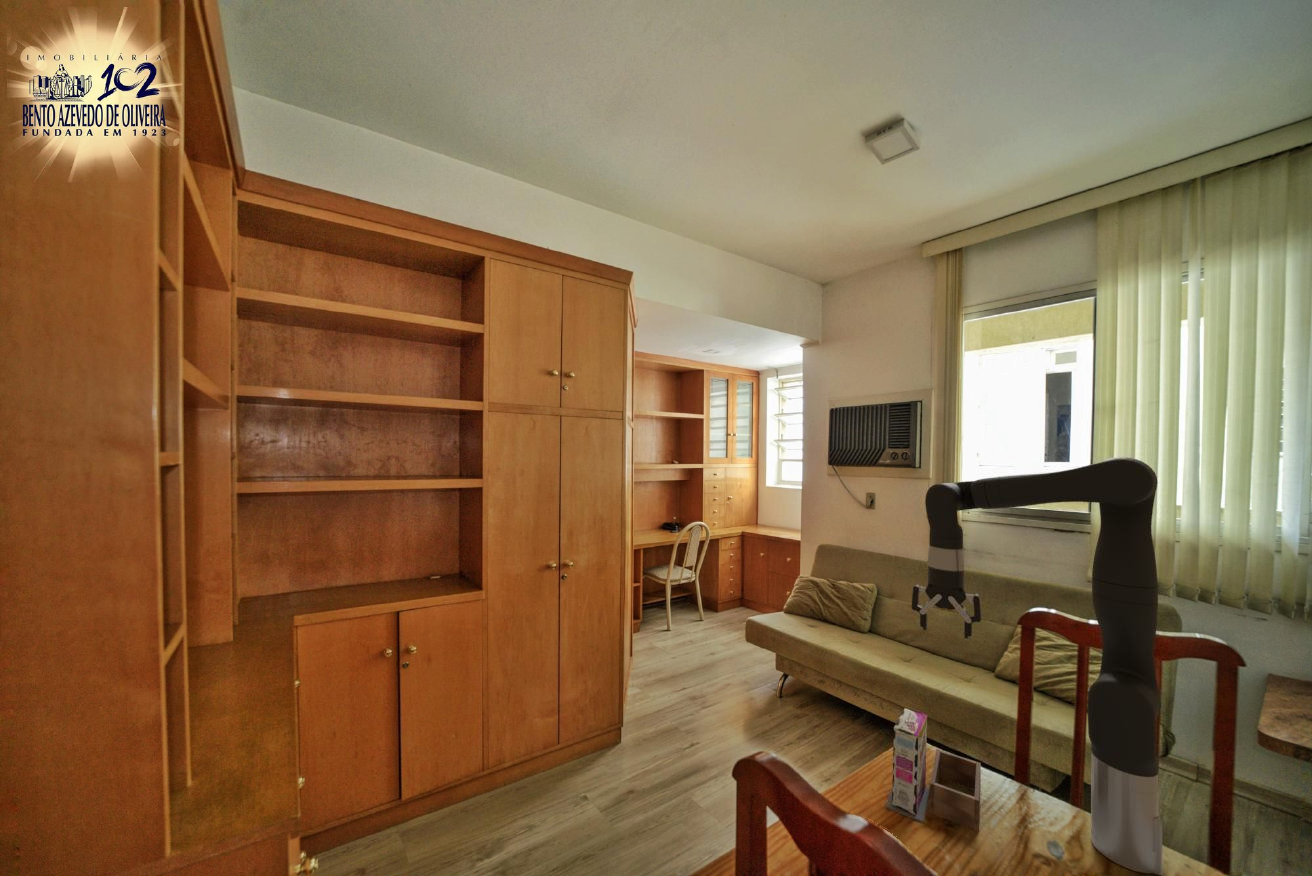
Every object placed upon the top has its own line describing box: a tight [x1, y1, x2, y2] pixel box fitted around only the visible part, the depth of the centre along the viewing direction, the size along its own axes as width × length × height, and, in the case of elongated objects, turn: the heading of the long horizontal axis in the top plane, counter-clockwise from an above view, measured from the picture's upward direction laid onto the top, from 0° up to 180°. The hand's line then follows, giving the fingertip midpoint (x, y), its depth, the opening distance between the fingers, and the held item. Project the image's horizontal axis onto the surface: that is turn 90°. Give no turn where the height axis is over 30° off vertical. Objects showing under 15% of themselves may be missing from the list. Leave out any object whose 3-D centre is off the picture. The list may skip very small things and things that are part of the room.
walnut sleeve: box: [929, 748, 982, 832], centre depth 105 cm, size 9×15×6 cm, turn 145°
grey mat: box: [885, 786, 930, 824], centre depth 105 cm, size 7×12×1 cm, turn 145°
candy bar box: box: [891, 707, 928, 815], centre depth 105 cm, size 11×5×16 cm, turn 142°
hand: (945, 633), depth 116 cm, fingers open, 8 cm apart
